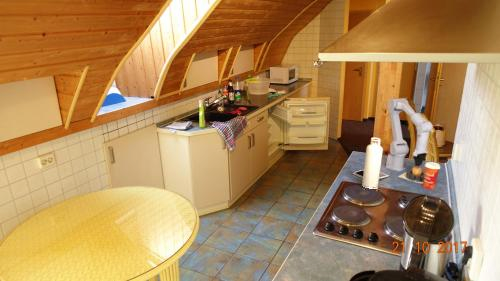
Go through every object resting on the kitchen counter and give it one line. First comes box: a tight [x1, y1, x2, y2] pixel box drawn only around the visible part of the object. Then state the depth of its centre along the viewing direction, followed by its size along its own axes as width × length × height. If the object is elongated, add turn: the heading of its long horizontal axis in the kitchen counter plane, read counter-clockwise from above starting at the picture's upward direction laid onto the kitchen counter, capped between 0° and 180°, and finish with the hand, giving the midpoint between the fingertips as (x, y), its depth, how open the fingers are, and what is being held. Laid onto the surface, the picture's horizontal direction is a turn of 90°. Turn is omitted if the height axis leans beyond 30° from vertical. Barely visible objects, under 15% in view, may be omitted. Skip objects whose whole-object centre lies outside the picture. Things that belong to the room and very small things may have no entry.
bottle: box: [361, 137, 384, 190], centre depth 187 cm, size 8×8×28 cm
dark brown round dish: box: [406, 169, 424, 183], centre depth 204 cm, size 11×11×3 cm
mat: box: [397, 172, 423, 185], centre depth 206 cm, size 14×12×1 cm
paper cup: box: [422, 161, 441, 190], centre depth 191 cm, size 8×8×14 cm
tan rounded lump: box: [411, 166, 423, 176], centre depth 204 cm, size 5×5×6 cm
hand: (418, 165), depth 203 cm, fingers closed
